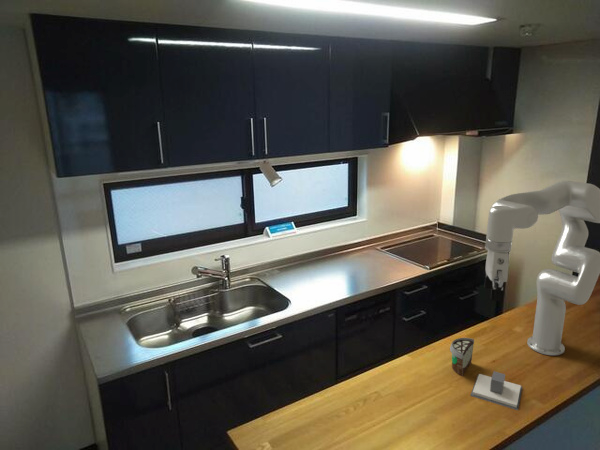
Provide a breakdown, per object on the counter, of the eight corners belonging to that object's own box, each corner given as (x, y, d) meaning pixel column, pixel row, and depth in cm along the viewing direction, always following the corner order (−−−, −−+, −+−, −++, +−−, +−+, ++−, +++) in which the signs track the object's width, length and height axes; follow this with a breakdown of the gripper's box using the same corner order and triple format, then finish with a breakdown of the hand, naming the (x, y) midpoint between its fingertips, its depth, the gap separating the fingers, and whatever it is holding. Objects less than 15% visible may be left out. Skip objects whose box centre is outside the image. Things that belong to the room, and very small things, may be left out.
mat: (477, 375, 149) (477, 374, 149) (522, 388, 142) (522, 386, 141) (470, 397, 138) (470, 395, 138) (517, 412, 131) (518, 410, 131)
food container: (455, 357, 160) (457, 333, 157) (472, 362, 156) (474, 338, 154) (443, 373, 151) (444, 348, 148) (460, 379, 147) (462, 354, 145)
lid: (478, 376, 148) (480, 362, 146) (520, 388, 141) (522, 373, 139) (472, 394, 139) (473, 379, 137) (516, 407, 132) (518, 392, 130)
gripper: (518, 254, 126) (511, 306, 131) (504, 237, 142) (498, 284, 147) (491, 252, 128) (485, 304, 132) (480, 236, 144) (475, 283, 148)
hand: (492, 294), depth 139 cm, fingers open, 9 cm apart
